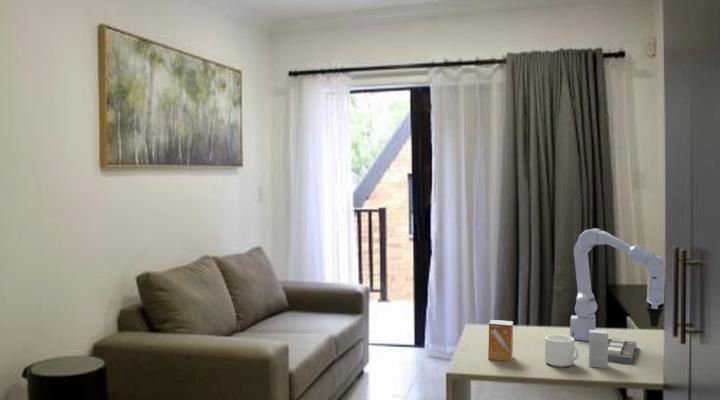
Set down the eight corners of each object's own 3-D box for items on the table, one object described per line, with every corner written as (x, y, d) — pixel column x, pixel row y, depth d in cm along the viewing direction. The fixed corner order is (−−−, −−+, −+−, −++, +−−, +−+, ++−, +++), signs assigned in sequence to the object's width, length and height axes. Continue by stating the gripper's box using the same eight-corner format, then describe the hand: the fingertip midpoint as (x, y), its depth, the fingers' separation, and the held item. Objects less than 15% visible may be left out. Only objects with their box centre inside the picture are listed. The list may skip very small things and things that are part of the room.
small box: (488, 359, 226) (488, 323, 226) (490, 354, 232) (490, 319, 232) (511, 361, 224) (512, 325, 223) (512, 356, 230) (513, 320, 229)
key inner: (611, 346, 240) (611, 340, 240) (612, 343, 244) (612, 337, 243) (623, 348, 238) (624, 341, 238) (625, 345, 242) (625, 339, 241)
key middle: (609, 351, 234) (609, 344, 233) (610, 348, 237) (610, 342, 237) (622, 353, 231) (622, 346, 231) (623, 349, 235) (623, 343, 235)
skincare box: (607, 365, 221) (607, 330, 220) (607, 368, 216) (608, 333, 216) (588, 363, 222) (589, 329, 222) (588, 366, 218) (589, 332, 218)
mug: (586, 365, 220) (586, 339, 220) (570, 371, 213) (571, 344, 213) (555, 357, 229) (555, 332, 228) (539, 363, 222) (539, 337, 222)
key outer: (606, 356, 227) (607, 349, 227) (608, 353, 231) (608, 346, 231) (620, 358, 225) (620, 351, 225) (621, 354, 229) (621, 348, 229)
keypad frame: (594, 359, 227) (594, 352, 227) (602, 343, 247) (602, 337, 247) (631, 364, 222) (631, 357, 221) (636, 347, 242) (636, 341, 242)
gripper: (667, 292, 230) (666, 329, 231) (668, 286, 243) (667, 321, 243) (645, 290, 233) (644, 327, 234) (647, 284, 246) (646, 319, 247)
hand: (654, 324), depth 239 cm, fingers open, 7 cm apart
